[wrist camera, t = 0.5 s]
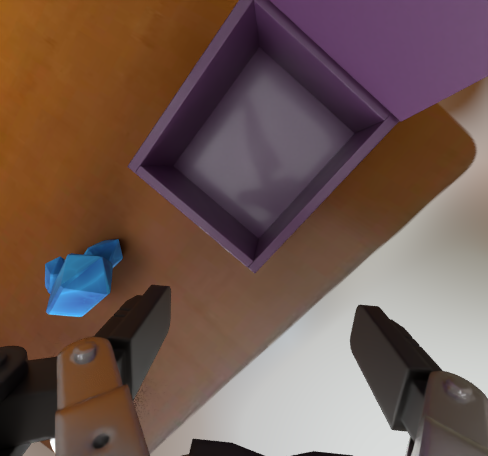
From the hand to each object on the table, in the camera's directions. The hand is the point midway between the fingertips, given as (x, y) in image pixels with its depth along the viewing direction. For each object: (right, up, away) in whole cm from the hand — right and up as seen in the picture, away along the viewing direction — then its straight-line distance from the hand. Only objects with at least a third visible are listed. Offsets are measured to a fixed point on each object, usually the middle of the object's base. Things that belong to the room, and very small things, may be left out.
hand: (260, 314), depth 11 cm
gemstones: (-18, 0, +21) cm, 28 cm away
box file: (+1, +12, +16) cm, 20 cm away
